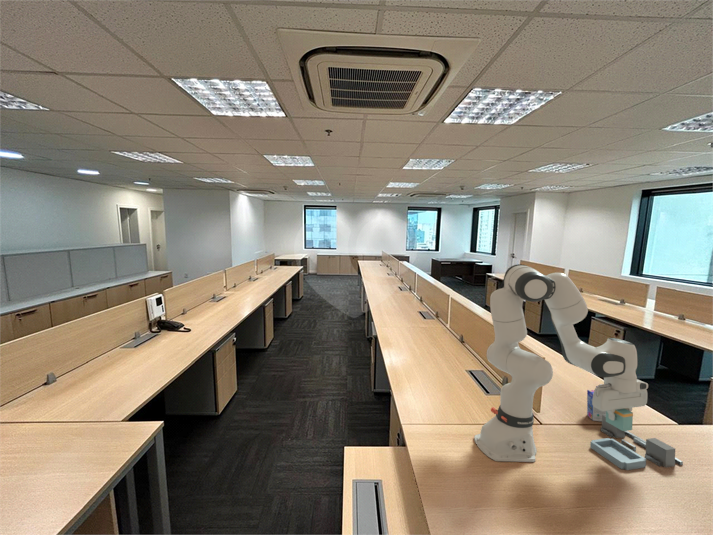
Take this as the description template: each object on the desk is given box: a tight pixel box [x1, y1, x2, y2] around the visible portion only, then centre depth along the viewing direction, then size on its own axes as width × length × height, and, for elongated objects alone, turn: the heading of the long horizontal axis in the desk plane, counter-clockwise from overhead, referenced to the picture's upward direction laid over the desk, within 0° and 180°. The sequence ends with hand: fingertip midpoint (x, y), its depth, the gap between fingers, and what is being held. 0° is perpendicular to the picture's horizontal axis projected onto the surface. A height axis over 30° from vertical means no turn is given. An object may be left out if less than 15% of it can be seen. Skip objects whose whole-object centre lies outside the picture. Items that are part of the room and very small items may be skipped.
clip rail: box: [600, 426, 684, 467], centre depth 110 cm, size 12×22×2 cm, turn 9°
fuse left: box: [601, 415, 626, 439], centre depth 117 cm, size 4×6×6 cm, turn 9°
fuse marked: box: [606, 409, 634, 432], centre depth 103 cm, size 4×6×6 cm
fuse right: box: [645, 437, 676, 469], centre depth 102 cm, size 4×6×6 cm, turn 9°
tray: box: [589, 437, 647, 471], centre depth 104 cm, size 10×12×2 cm
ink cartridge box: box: [586, 385, 606, 422], centre depth 128 cm, size 10×6×14 cm, turn 76°
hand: (618, 418), depth 103 cm, fingers closed on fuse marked, 4 cm apart
